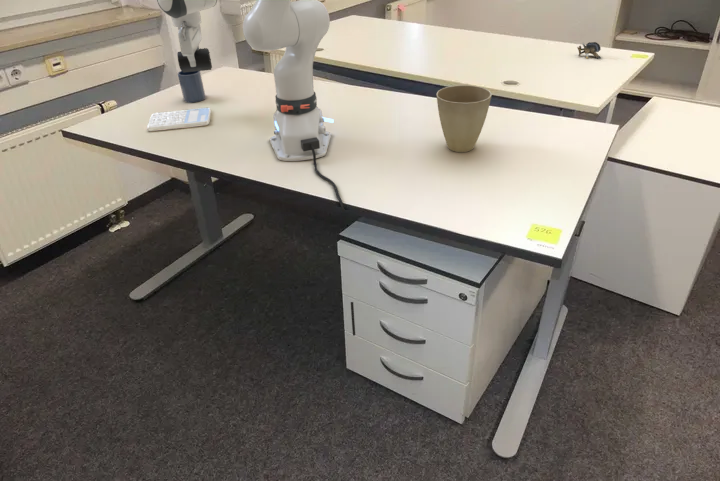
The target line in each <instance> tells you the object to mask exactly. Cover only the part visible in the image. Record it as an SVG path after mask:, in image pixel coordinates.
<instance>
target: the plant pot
mask: <svg viewBox="0 0 720 481" xmlns="http://www.w3.org/2000/svg"><path fill="white" fill-rule="evenodd" d="M435 95H436V102H437V110H438V116H439V122H440V126H441V130H442V134H443V137H444V141H445V143H446V147H447V148H448V149H449V150H450V151H452V152H456V153H467V152H471V151H472V150H473V149H474V148H475V146H476V143H477V142H478V139H479V137H480V135H481V133H482V130H483V128H484V125H485V122H486V118H487V116H488V112H489V108H490V104H491V99H492V95H493V93H492V91H491V90H489V89H487V88H486V87H482V86H477V85H471V84H458V85H450V86H446V87H442V88H441V89H439V90H437V92H436V94H435Z"/></svg>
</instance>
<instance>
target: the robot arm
mask: <svg viewBox="0 0 720 481" xmlns="http://www.w3.org/2000/svg"><path fill="white" fill-rule="evenodd" d="M156 1H157V4H158V6H159V8H160V9H161V10H162V11H163V13H164V14H166V15H168V16H169V17H171V22H172V26H174V27H175V28H177V30H178V31H177V33H178V34H177V36H178V42H179V48H180V52H181V53H182V55H183V56H187V58H188V60H189V62H190V66H191V67H196V60H195V57H194V53H195V51H196V50H199V49H200V44H201V41H202V29H201V24H202V19H201V11H205V10H209V9H211V8H214V7H215V6H216V5H217V3H218V0H156ZM330 24H331V19H330V14H329V11H328V9H327V7H326V6H325V4H324V3H323V2H321V1H320V0H294V1H293V0H255V2H254V4H253V6H252V7H251V9H250V10H249V11H248V13H246V15H245V17H244V18H243V22H242V33H243V38H244V39H245V42H246V43H247V44H248V45H249V47H251V48H252V49H253V50H255V51H257V52H258V51H259V52H260V51H261V52H273V51H274V52H275V51H277V50H281V49H282V50H283V49H285V51H284V53H283V55H282V57H281V58H280V59H279V60H278V61H277V63H276V64H275V65H274V68H273V79H274V87H275V93H276V94H275V96H274V97H275V105H276V106H275V107H276V111H275V112H274V113H273V114H272V116H273V117H272V118H273V125H274V130H273V134H274V135H272V136H271V137H269V143H270V145H271V147H272V149H273V151H274V153H275V156H276V158H277V159H278V160H279V161H284V162H299V161H308V160H312V161H313V166H314V171H315V173H316V174H317V176H319V177H320V178H322V179H323V180H325V181H326V182H328V183H329V184H330V185H331V186H332V187H333V189H334V192H335V195H336V198H337V200H338V202H339V206H340V211H341V213H344V212H346V211H345V205H344V202H343V200H342V198H341V196H340V192H339V189H338V187H337V186H336V184H335V182H334V181H333V180H331V179H330V178H328V176H325V175H323V174H322V173H321V172H320V171H319V169H318V167H317V166H318V165H317V164H318V163H317V159H319V158H323V157H325V156H326V155H327V152H328V149H329V145H330V141H331V138H332V135H331V132H330V131H326V126H325V125H324V123H325V122H326V123H331V124H333V123H334V119H333V118H328V117H324V116H323V109H321V108H319V107H318V106H317V105H318V103H317V100H318V99H317V95H316V92H315V88H314V87H315V86H314V70H313V69H314V61H315V57H316V53H317V50H318V47H319V45H320V43H321V41H322V40H323V38H324V37H325V36H326V34H327V33H328V32H329V28H330ZM354 307H355V306H354V301H350V315H351V327H352V328H351V329H352V336H356V323H355V308H354Z"/></svg>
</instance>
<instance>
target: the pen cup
mask: <svg viewBox="0 0 720 481" xmlns="http://www.w3.org/2000/svg"><path fill="white" fill-rule="evenodd" d="M201 73H202V71H194V72H183V71H181V70H180V71H178V72H177V77H178V81H179V86H180V90H181V94H182V97H183V102H185V103H190V104H192V103H193V104H194V103H199V102H202V101H204V100H206V99H207V98H206V91H205V87H204V81H203V77H202V74H201Z"/></svg>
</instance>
